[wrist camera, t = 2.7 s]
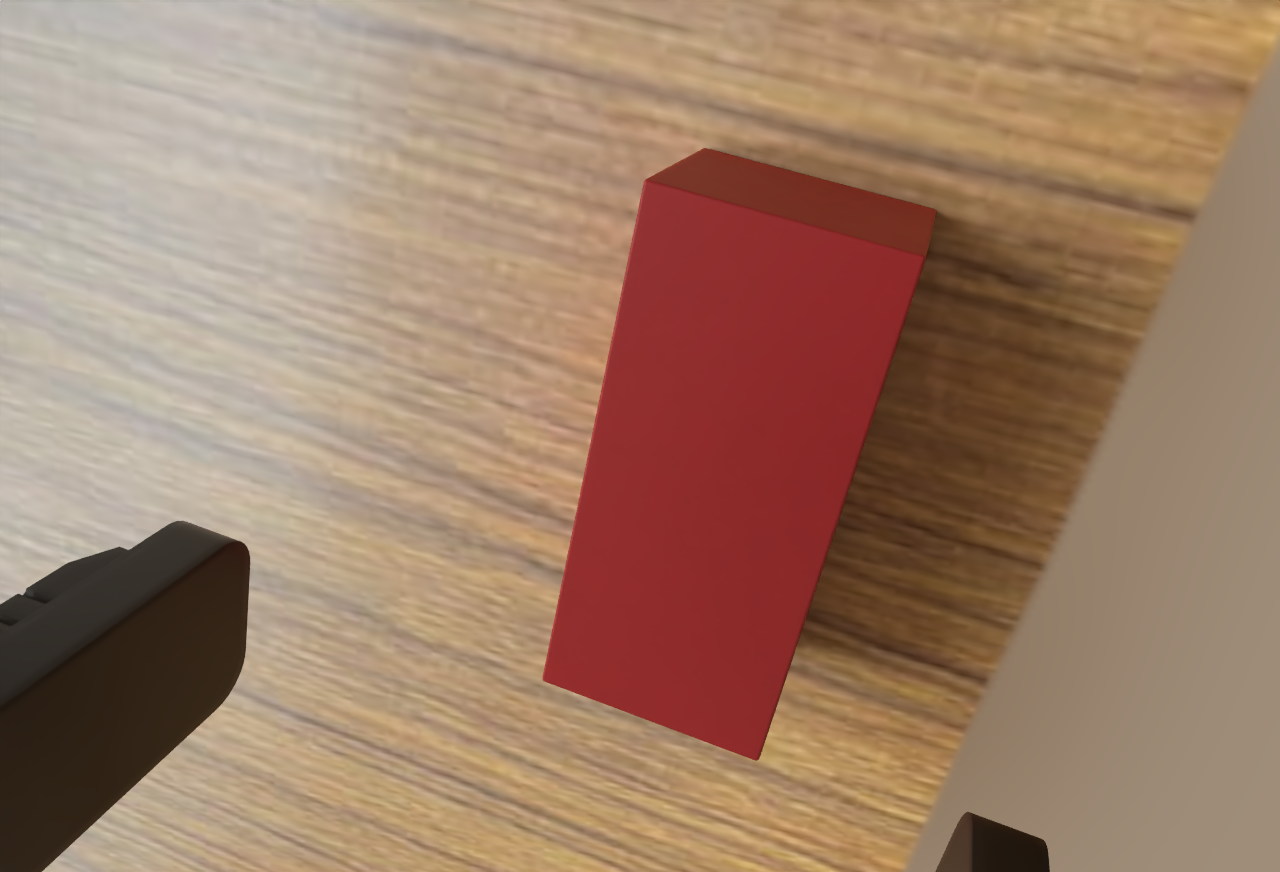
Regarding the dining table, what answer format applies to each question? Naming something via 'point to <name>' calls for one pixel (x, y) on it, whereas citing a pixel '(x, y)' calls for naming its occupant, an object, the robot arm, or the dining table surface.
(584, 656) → the red rectangular block
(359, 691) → the dining table surface
